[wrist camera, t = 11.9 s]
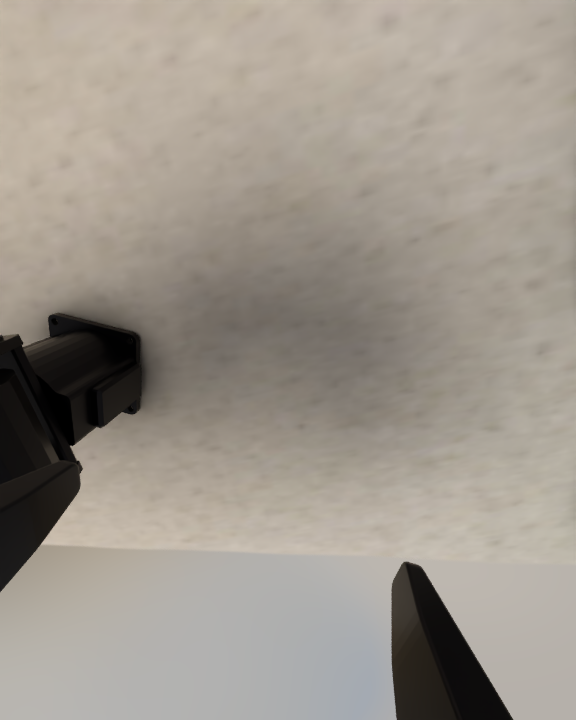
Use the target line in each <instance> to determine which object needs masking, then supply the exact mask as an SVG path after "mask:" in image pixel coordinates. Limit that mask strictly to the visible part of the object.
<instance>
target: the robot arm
mask: <svg viewBox="0 0 576 720" xmlns="http://www.w3.org/2000/svg"><path fill="white" fill-rule="evenodd" d="M56 319H57V320H56ZM57 321H58V322H57ZM48 322H49V330H50V337H49V338H46V339H44V340H41V341H38V342H36V343H33V344H31V345H28V346H25V347H22V345H23V342H22V340H21V338H20V336H19V334H15V335H6V336H2V335H0V592H1V591H2V589H3V588H4V587H5V586H6V585H7V584H8V583H9V581H10V580H11V579H12V578H13V577H14V576H15V574H16V573H17V572H18V571H19V570H20V569H21V567H22V566H23V565H24V564H25V563H26V562H27V560H28V559H29V558H30V557H31V556H32V555H33V553H34V552H35V551H36V550H37V548H38V547H39V546H40V545H41V543H42V542H43V541H44V539H45V538H46V537H47V535H48V534H49V532H50V531H51V530H52V528H53V527H54V526H55V524H56V523H57V521H58V520H59V519H60V517H61V516H62V514H63V513H64V512H65V510H66V509H67V507H68V506H69V505H70V503H71V502H72V501H73V499H74V498H75V496H76V495H77V493H78V492H79V489H80V473H81V471H82V470H83V468H82V466H81V464H80V462H79V461H77V460H76V458H75V456H74V454H73V451H72V449H71V447H70V446H73V445H75V444H76V443H77V442H78V441H80V440H81V439H82V438H83V437H85V436H86V435H87V434H88V433H90V432H91V431H92V430H93V429H95V428H96V427H99V428H102V427H104V426H105V425H106V424H108V423H109V422H110V421H111V420H112V419H114V418H115V417H116V416H117V415H119V414H120V413H121V412H124V413H128V414H132V415H133V414H135V413H137V412H138V411H139V409H140V396H141V366H140V339H139V337H138V335H137V334H136V333H134V332H130V331H126V330H122V329H118V328H115V327H111V326H107V325H103V324H99V323H95V322H91V321H87V320H83V319H79V318H75V317H71V316H67V315H64V314H60V313H55V314H52V315H50V316H49V317H48ZM130 338H131V339H132V340H133V342H131V341H130ZM131 406H132V407H133V408H132V407H131ZM392 671H393V684H394V695H395V705H396V717H397V720H513V718H512V717H511V715H510V713H509V712H508V710H507V708H506V707H505V705H504V704H503V702H502V700H501V698H500V697H499V695H498V693H497V692H496V690H495V688H494V687H493V685H492V683H491V682H490V680H489V678H488V677H487V675H486V673H485V672H484V670H483V668H482V667H481V665H480V663H479V662H478V660H477V658H476V657H475V655H474V653H473V652H472V650H471V648H470V647H469V645H468V643H467V642H466V640H465V638H464V637H463V635H462V633H461V632H460V630H459V628H458V627H457V625H456V623H455V622H454V620H453V618H452V617H451V615H450V613H449V612H448V610H447V608H446V607H445V605H444V604H443V602H442V600H441V598H440V597H439V595H438V593H437V592H436V590H435V588H434V587H433V585H432V583H431V581H430V580H429V579H428V577H427V575H426V573H425V572H424V570H423V569H422V567H421V566H419V565H416V564H413V563H410V562H404V563H403V564H402V565H401V567H400V569H399V571H398V572H397V574H396V576H395V578H394V580H393V583H392Z"/></svg>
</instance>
